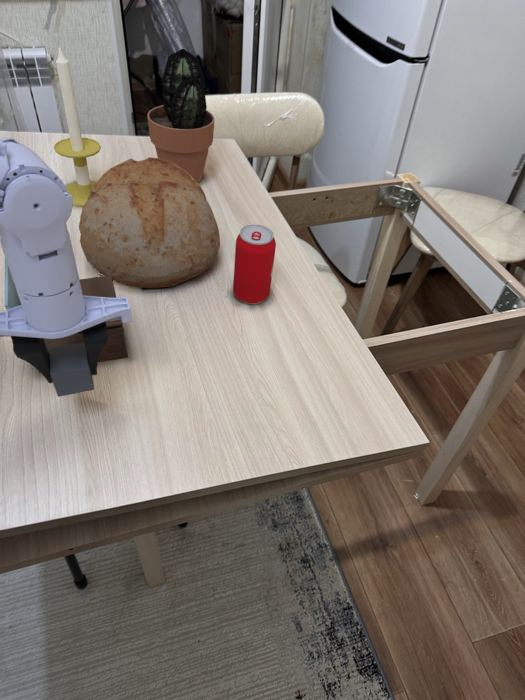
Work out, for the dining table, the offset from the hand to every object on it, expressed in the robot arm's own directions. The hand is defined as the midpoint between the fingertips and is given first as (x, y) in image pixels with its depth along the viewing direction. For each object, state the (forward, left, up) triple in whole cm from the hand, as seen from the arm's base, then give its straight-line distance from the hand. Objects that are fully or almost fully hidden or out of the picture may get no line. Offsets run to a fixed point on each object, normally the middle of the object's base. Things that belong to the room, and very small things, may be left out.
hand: (73, 372), depth 56 cm
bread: (-14, +35, -9) cm, 39 cm away
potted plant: (-24, +62, -9) cm, 67 cm away
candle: (-36, +44, -9) cm, 58 cm away
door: (-14, +6, +1) cm, 15 cm away
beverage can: (+7, +33, -9) cm, 35 cm away
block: (0, 0, -1) cm, 1 cm away
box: (-10, +11, -8) cm, 17 cm away
